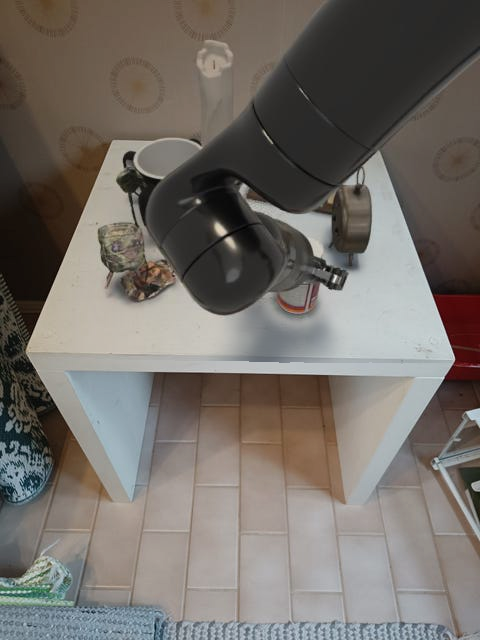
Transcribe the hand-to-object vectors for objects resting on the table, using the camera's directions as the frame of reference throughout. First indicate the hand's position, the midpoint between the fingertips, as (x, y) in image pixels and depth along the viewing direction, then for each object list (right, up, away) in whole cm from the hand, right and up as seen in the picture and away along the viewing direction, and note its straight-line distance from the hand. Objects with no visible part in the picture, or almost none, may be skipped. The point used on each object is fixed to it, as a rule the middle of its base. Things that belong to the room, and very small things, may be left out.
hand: (301, 264), depth 61 cm
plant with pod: (-25, -2, +10) cm, 27 cm away
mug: (-20, +12, +20) cm, 31 cm away
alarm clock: (+9, +5, +15) cm, 18 cm away
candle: (-14, +28, +32) cm, 45 cm away
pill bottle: (0, -5, +8) cm, 9 cm away
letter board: (+4, +17, +24) cm, 29 cm away
